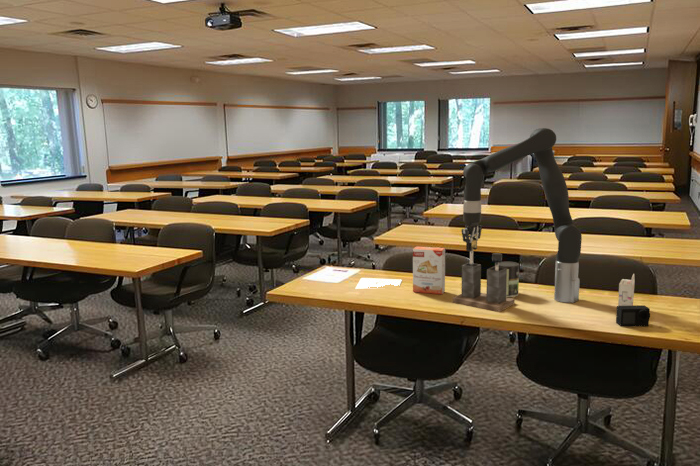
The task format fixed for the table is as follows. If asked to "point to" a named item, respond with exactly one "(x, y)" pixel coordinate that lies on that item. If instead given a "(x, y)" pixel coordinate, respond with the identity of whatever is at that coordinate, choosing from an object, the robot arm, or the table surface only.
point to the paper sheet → (376, 282)
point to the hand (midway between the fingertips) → (471, 249)
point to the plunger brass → (472, 252)
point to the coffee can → (511, 277)
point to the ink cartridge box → (626, 292)
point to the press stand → (495, 288)
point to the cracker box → (429, 270)
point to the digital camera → (632, 316)
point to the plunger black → (497, 259)
